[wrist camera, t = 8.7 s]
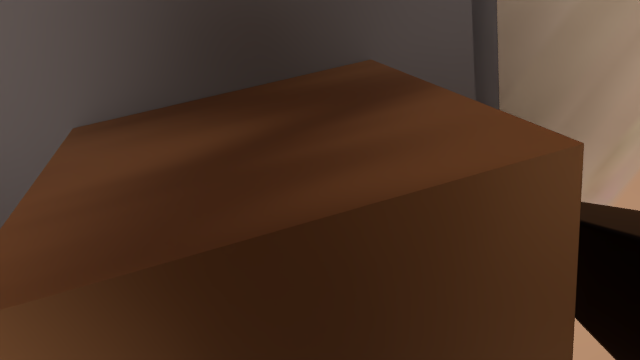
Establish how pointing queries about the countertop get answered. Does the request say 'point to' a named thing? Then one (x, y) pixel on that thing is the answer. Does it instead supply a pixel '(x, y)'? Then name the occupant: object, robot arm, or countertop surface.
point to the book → (209, 58)
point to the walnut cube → (299, 230)
